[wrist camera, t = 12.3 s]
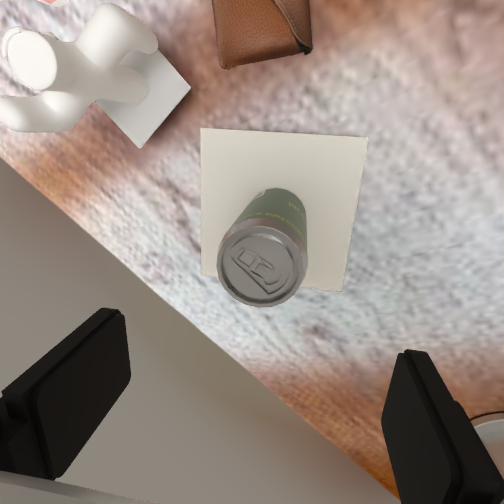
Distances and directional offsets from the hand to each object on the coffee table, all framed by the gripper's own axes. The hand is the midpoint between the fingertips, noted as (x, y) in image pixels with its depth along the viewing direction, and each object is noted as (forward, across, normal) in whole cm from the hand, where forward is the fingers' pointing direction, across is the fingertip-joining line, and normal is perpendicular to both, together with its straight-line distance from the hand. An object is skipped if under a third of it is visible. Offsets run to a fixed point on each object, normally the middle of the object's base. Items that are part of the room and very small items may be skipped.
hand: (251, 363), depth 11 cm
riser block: (+23, +1, 0) cm, 23 cm away
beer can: (+20, +1, 0) cm, 20 cm away
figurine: (+23, +14, -11) cm, 29 cm away
